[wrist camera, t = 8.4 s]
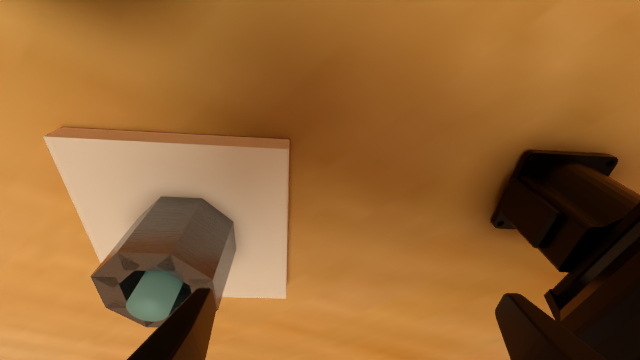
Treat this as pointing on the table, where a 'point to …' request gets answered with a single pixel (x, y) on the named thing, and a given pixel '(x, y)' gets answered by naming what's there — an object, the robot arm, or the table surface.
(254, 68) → the table surface
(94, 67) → the table surface
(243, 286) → the post block
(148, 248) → the steel collar
